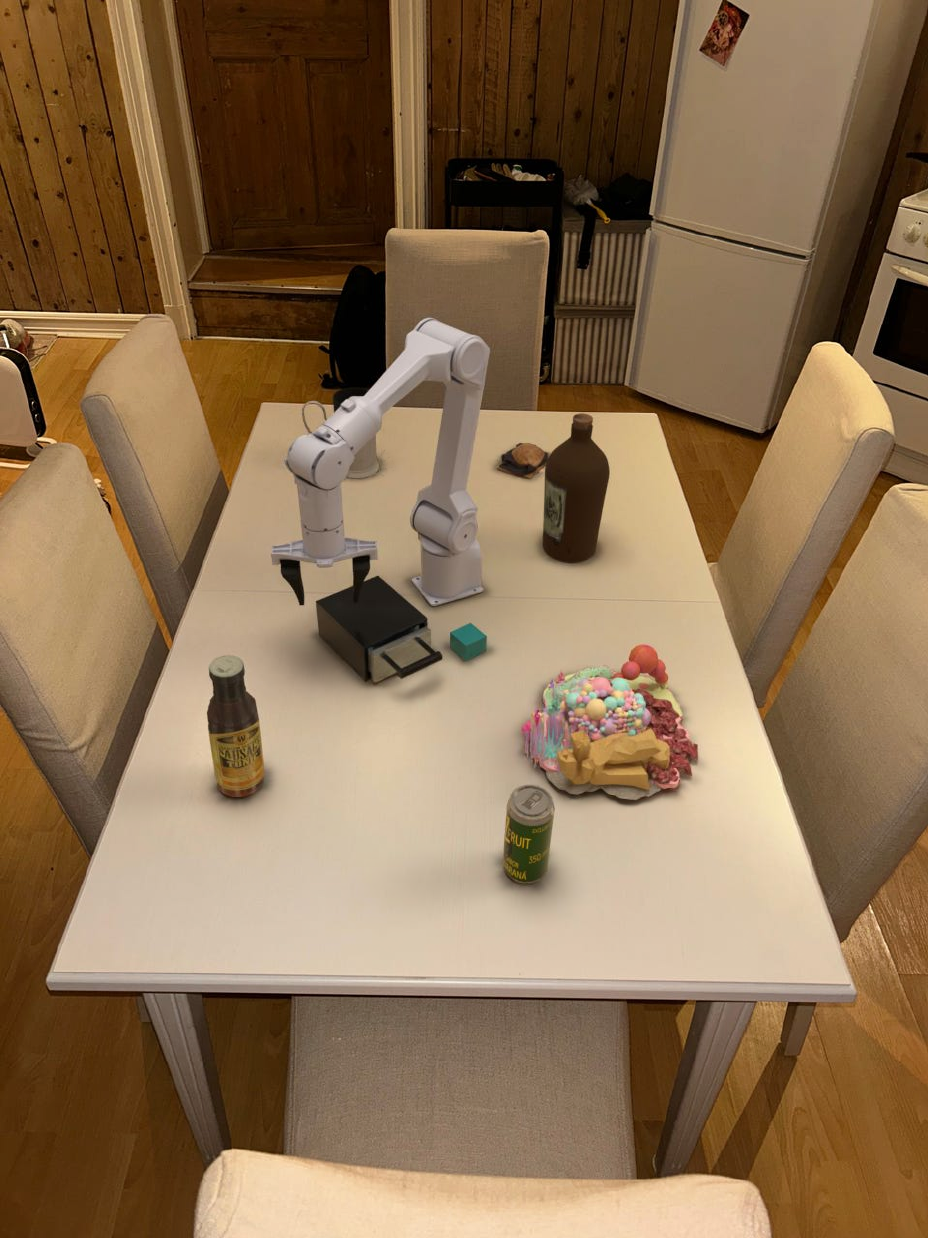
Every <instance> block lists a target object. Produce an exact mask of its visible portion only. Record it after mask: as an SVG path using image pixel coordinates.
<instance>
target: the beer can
mask: <svg viewBox="0 0 928 1238" xmlns="http://www.w3.org/2000/svg"><path fill="white" fill-rule="evenodd" d="M555 809H556V808H555V803H554V799H553V796H552V795H551V793H550V792H549V791H548V790H547V789H546V788H544V787H542V786H540V785H536V784H524V785H519V786H518V787H516V788H515V789H514V790H512V792H511V793H510V795H509V798H508V800H507V804H506V811H505V825H504V826H505V827H504V838H503V851H502V852H503V853H502V866H503V869H504V871H505V873H506V875H507V876H508V877H509V878H510V879H511V880H513V882H516V883H519V884H523V885H531V884H533V883H536V882H538V881H539V880H540V879H542V878H543V877H544V876H545V874H546V873H547V871H548V867H549V859H550V851H551V850H550V849H551V842H552V833H553V825H554V819H555V818H554V817H555Z"/></svg>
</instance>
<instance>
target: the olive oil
mask: <svg viewBox="0 0 928 1238" xmlns="http://www.w3.org/2000/svg"><path fill="white" fill-rule="evenodd" d="M593 423H594V417H593V416H592V415H590V414H588V413H585V412H584V413H583V412H581V413H577V414H574V415H573V417H572V423H571V427H570V436H569V437H568V438H567V439H566V440H564V441H563V442H562V443H560V444H559V445H557V447H555V448H554V449H553V450H552V451H551V452H550V453H551V454H550V456H549V458H548V461H547V463H546V465H545V466H544V467H545V468H544V488H543V489H544V493H543V523H542V525H543V526H542V549H543V551H544V552H545V554H547V555H548V556H549V557H550V558H552V559H554V560H557V561H559V562H563V563H564V562H565V563H580V562H581V563H582V562H584V561H587V560H589V559H591V558H592V557H593V556H594V555H595V553H596V551H597V545H598V541H599V540H598V539H599V534H600V528H601V522H602V517H603V513H604V511H603V510H604V506H605V500H606V495H607V492H608V491H607V490H608V485H609V482H610V481H609V480H610V475H611V474H610V473H611V471H610V470H611V469H610V465H609V460H608V457H607V455H606V453H605V452H604V451H603V450H602V449H601V448H600V446H598V444H597V443H596V442H595V441H594V440H593V438H592V435H593V429H594V426H593Z"/></svg>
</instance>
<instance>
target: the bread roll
mask: <svg viewBox="0 0 928 1238" xmlns="http://www.w3.org/2000/svg"><path fill="white" fill-rule="evenodd" d="M551 453H552V452H548V451H544V450H543V449H542V447H539V446H538V445H536V444H534V443H530V442H519V443H518V444H515V447H514V448H512V449H510V450H508V451H506V452H505V453H502V454H501V456H500V458H501V461H500V462H499V463H498V465H497V466H496V470H498V471H499V472H503V473H505V474H507V475H508V474H509V475H511V474H512V475H514V476H515V477H521V478H524V479H528V480H529V479H531V478H533V477H534V476H535V475H536V474H537V473H539V471H540V470H541V469H542V468H544V467H546V463H547V461H548V458H549V456H550V454H551Z"/></svg>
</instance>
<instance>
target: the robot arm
mask: <svg viewBox="0 0 928 1238" xmlns="http://www.w3.org/2000/svg"><path fill="white" fill-rule="evenodd" d="M490 354H491V349H490V347H489V346H488V344H487V343H486V342H485V340H483V338H481V336H479V335H476V334H471V333H468V332H466V331H462V330H460V329H458V328H456V327H454V326H451V325H448V324H446V323H443V322H441V321H440V320H438V319H436V318H433V317H426V318H424V319H422V320H420V321H419V322H418V323H417V324H416V326H415V327H414V329H413V330H411V331H410V332H409V333H407V334H406V337H405V341H404V350H403V351H402V352H401V353H400V355H398V357H396V359H395V360H394V361H393V362H392V363H391V365H390V366H389V367H388V368H387V369H386V370H385V371H384V372H383V374H382V375H381V376H380V377H379V378H378V380H377V381H375V383H374V384H373V385H372V386H371V388H370V389H368V392H367V393H366V395H365V396H352V397H350V398H349V399H346V400H345V401H344V402H343V403H342V404H341V407H339V408H338V409H337V410H336V411H335V412H334V411H333V413H332V414H330V416H329V417H328V418H327V420H326V421H325V420H324V422H323V423H322V424H321V425H319V427H317V428H316V429H315V430H314V432H312V433H313V434H309V433H307V434H303V435H300V436H297V438H295V439H294V440H293V441H292V442H291V444H290V445H289V448H288V451H287V457H286V458H285V459H284V465H285V467H286V469H287V471H289V473H291V474H292V475H293V478H294V485H296V487H297V497H298V506H299V516H300V517H299V518H300V528H301V536H302V539H299V540H295V541H292V542H287V543H283V544H276V545H275V544H274V545H271V548H270V557H271V565H272V566H278V565H280V575H281V577H282V578H283V579H284V580H285V582H287V584H288V585H289V586H290V588H291V589H292V591H293V592H294V595H295V597H296V599H297V602H298V606H305V589H304V582H303V577H302V569H301V562H303V563H310V564H316V567H317V568H319V569H326V568H328V569H329V568H331V567H333V564H334V563H338V562H343V561H346V560H350V559H351V562H352V586H353V602H354V603H358V599H359V593H360V590H361V587H362V584H363V582H364V581H366V578H367V576H368V575H369V574H370V571H371V561H378V560H379V556H378V555H379V554H378V553H379V552H378V551H379V550H378V541H377V540H364V539H357V538H351V537H345V525H344V508H343V507H344V506H343V495H342V494H343V493H342V483H343V482H345V480H346V478H347V477H346V476H347V474H348V471H349V467H350V465H351V464H352V463H353V462H354V461H353V460H354V459H355V457H354V455H355V454H356V453H357V452H358V451H359V450H360V449H361V448H362V447H363V446H364V445H365V444H366V443H367V442H368V441H369V440H370V439H371V438H372V437H373V436H374V435H375V434H376V435H377V434H378V432H380V430H381V429H382V427H383V426H382V425H383V415H384V414H386V413H387V412H388V411H389V410H390V409H391V408H393V407H395V406H396V404H397V403H399V402H400V401H401V400H402V399H403V398H405V397H406V396H407V395H408V394H409V393H411V392H412V391H413V390H415V388H417V387H418V386H419V385H420V384H422V382H440V383H441V382H442V383H443V385H445V393H444V399H443V405H442V412H441V417H440V418H441V419H440V424H439V432H438V438H437V445H436V451H435V458H434V464H433V470H432V477H431V482H430V483H431V484H429V485H427V486H425V487H423V488H422V489H420V490H419V491H418V492H417V497H416V502H415V504H414V505H413V507H412V510H411V513H410V517H409V523H410V527H411V528H412V530H413V531H414V532H416V533H417V539H418V540H419V542H420V575H419V576H415V577H413V578H411V582H412V583H413V585H414V586H415V587H416V589H417V591H419V592H420V594H421V595H422V597H424V599H425V600H426V601H427V603H428V604H429V605H430V606H431V607H437V606H440V605H443V604H446V603H450V602H454V601H457V600H460V599H465V598H467V597H470V596H473V595H477V594H481V593H483V592H484V588H483V587H482V575H483V573H482V572H483V554H482V549H481V545H480V543H479V541H478V539H477V535H478V531H479V530H478V529H479V527H478V524H479V523H478V520H477V515H478V507H477V505H476V503H475V501H474V499H473V498H472V496H471V495H470V494H469V492H468V490H467V486H468V480H469V474H470V470H471V464H472V459H473V453H474V448H475V447H474V446H475V442H476V441H475V440H476V436H477V429H478V424H479V417H480V413H481V408H482V407H481V406H482V400H483V396H484V390H485V384H486V377H487V371H488V365H489V359H490Z"/></svg>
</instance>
